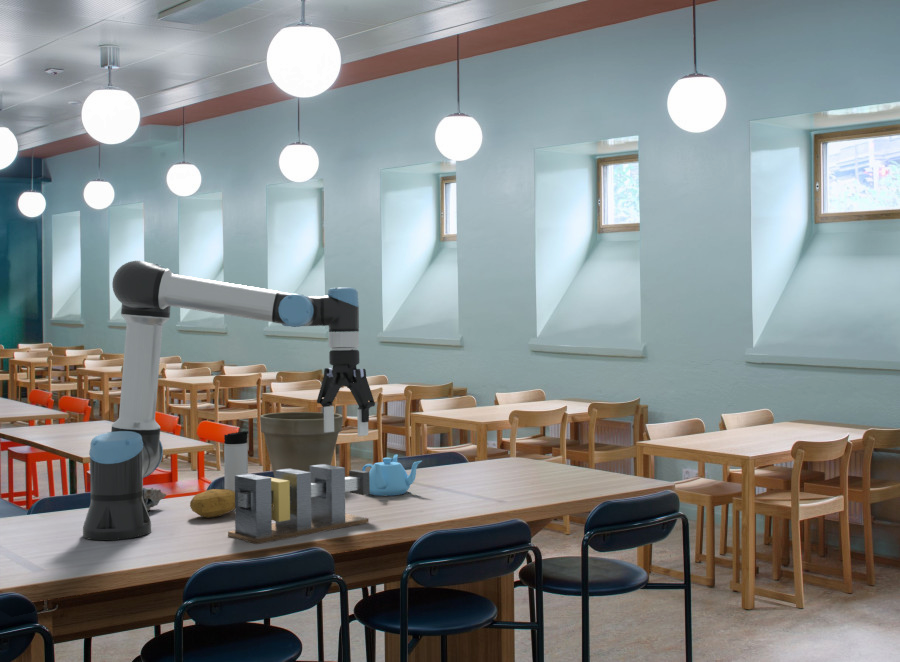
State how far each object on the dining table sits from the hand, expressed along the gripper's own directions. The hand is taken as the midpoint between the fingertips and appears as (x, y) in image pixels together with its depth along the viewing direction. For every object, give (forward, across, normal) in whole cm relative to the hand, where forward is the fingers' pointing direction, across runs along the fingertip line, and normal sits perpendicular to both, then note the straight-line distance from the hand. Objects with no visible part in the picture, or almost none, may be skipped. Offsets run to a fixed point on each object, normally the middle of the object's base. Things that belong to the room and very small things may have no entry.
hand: (345, 433), depth 239 cm
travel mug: (+21, +38, +8) cm, 45 cm away
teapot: (+22, +20, -32) cm, 43 cm away
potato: (+21, +28, +21) cm, 41 cm away
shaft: (+15, -2, +14) cm, 20 cm away
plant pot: (+21, +50, -22) cm, 59 cm away
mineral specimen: (+21, +48, +30) cm, 60 cm away
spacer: (+18, -2, +23) cm, 29 cm away
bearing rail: (+21, -2, +15) cm, 26 cm away
